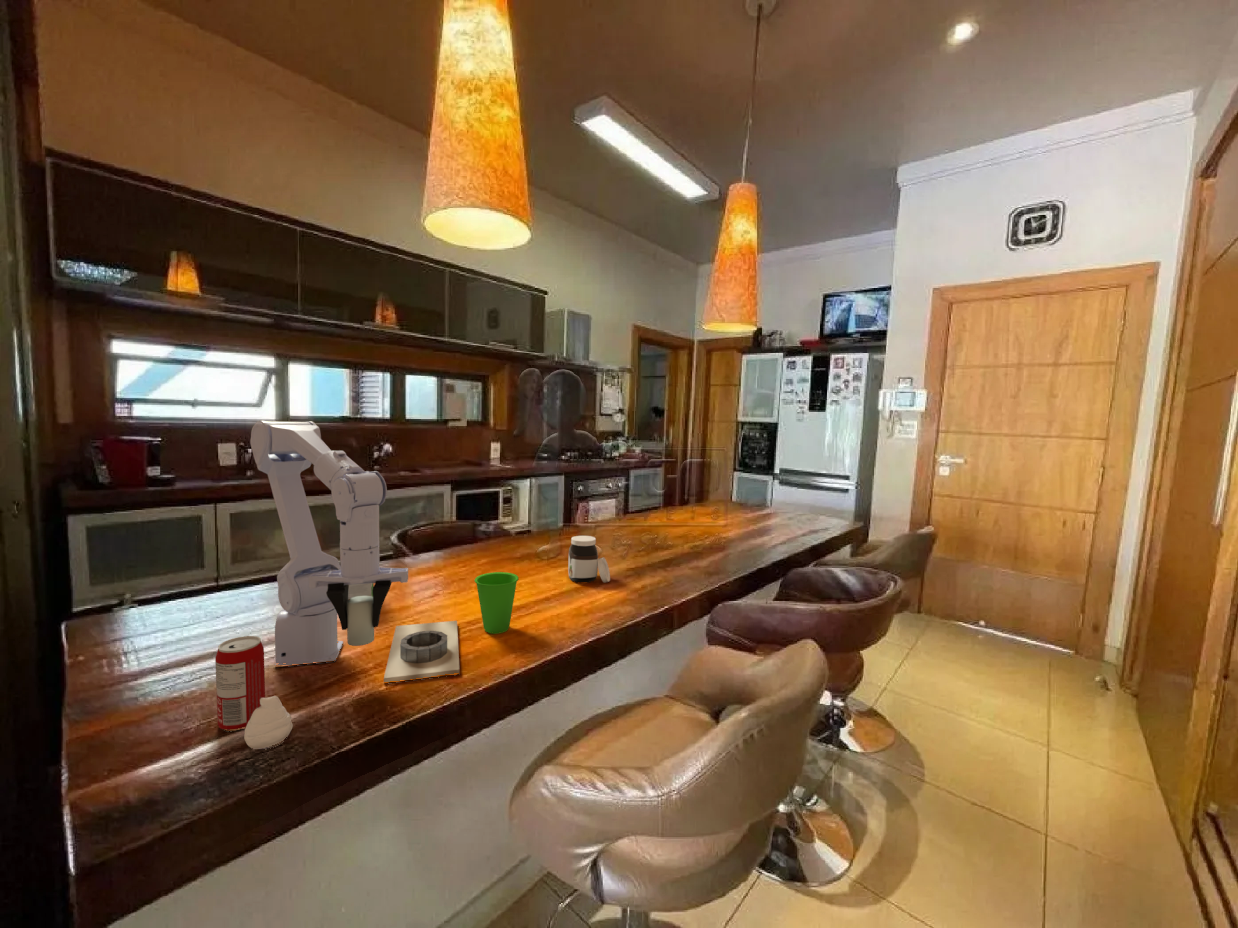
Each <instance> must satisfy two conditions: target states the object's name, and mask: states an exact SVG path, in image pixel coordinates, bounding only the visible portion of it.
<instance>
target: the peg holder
mask: <svg viewBox="0 0 1238 928" xmlns="http://www.w3.org/2000/svg"><path fill="white" fill-rule="evenodd" d="M458 637H459V635H458V621H457V620H450V621H449V620H448V621H438V622H428V623H416V624H404V625H403V624H402V625H396V626H395V629H394V633H393V638H392V642H391V646H390V650H389V653H388V658H387V663H386V667H385V671H384V675H383V676H384V677H383V683H384V682H390V681H400V680H410V679H416V678H423V677H431V676H437V675H445V674H454V673H459V674H460V658H459V657H460V655H459V653H460V652H459V638H458Z"/></svg>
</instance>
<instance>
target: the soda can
mask: <svg viewBox="0 0 1238 928" xmlns="http://www.w3.org/2000/svg"><path fill="white" fill-rule="evenodd" d="M216 651H217V652H216V654H215V659H214V661H215V681H216V682H215V683H216V684H215V685H216V687H215V690H216V711H217V716H216V717H217V726H219V727H218V729H221V730H223V729H227V730H230V729H238V728H242V727H246V726H247V724H248V721H249V720H250V718H251V716H252V714H253V712H254V710H255V709H257V708H259V707H260V706H261V704H260V699H261V698H266V680H265V679H266V677H265V676H266V675H265V674H266V673H265V672H266V671H265V648H264V644H263V642H262V640H261V637H259V636H256V635H245V636H237V637H234V638H230V639H227V640H225V641H222V642H221V643H220V644H219V645H218V646H217V650H216Z"/></svg>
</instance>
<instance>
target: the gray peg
mask: <svg viewBox="0 0 1238 928" xmlns="http://www.w3.org/2000/svg"><path fill="white" fill-rule="evenodd" d="M373 613H374V603H373V597H372V596H357V597H353V598H350V599H348V600H347V630H346V631H347V632H346V635H347V636H346V637H347V638H346V639H347V641H346V643H347V645H348V646H352V647H360V646H361V647H362V646H366V645H368V644H371V643H372V642H374V640H375V627H373Z"/></svg>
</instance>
